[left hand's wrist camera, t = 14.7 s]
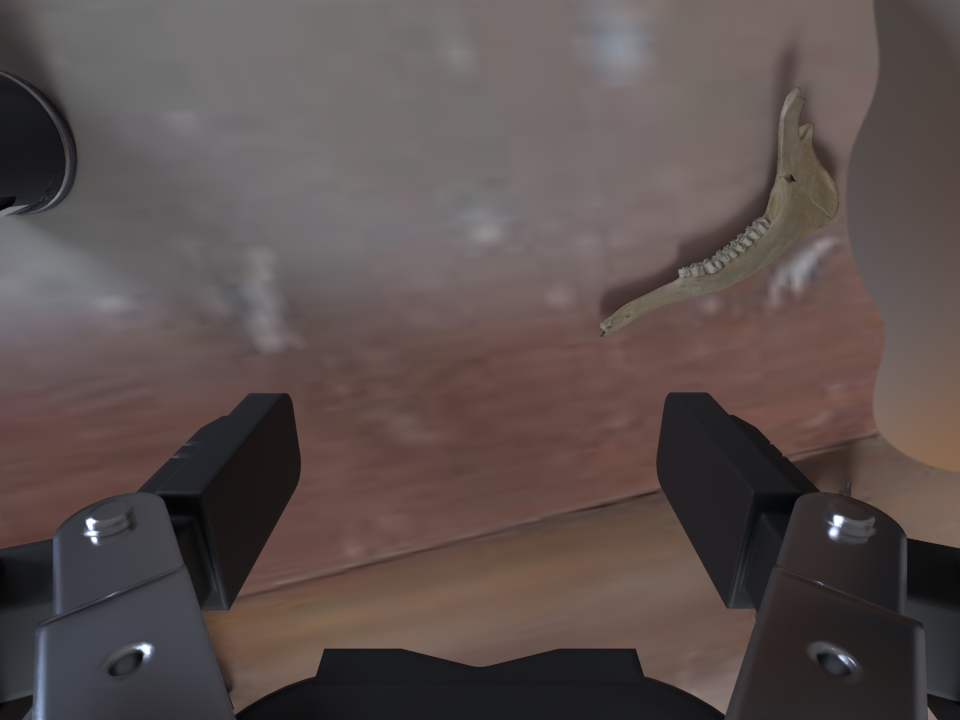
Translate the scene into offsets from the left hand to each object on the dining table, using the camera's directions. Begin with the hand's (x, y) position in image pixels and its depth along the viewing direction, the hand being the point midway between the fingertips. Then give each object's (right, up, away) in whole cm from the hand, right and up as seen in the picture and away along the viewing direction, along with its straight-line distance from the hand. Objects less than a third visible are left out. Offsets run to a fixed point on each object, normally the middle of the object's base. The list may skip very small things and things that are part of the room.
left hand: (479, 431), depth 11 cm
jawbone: (+16, +12, +27) cm, 34 cm away
